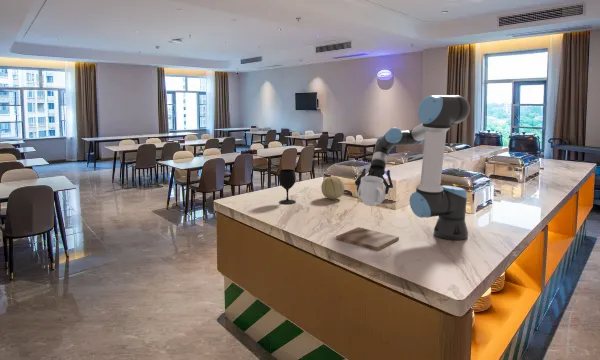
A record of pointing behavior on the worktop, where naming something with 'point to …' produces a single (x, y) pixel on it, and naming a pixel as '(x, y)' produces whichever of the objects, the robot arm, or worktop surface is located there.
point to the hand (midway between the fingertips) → (370, 197)
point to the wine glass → (287, 183)
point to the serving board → (367, 238)
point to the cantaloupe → (332, 187)
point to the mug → (371, 190)
